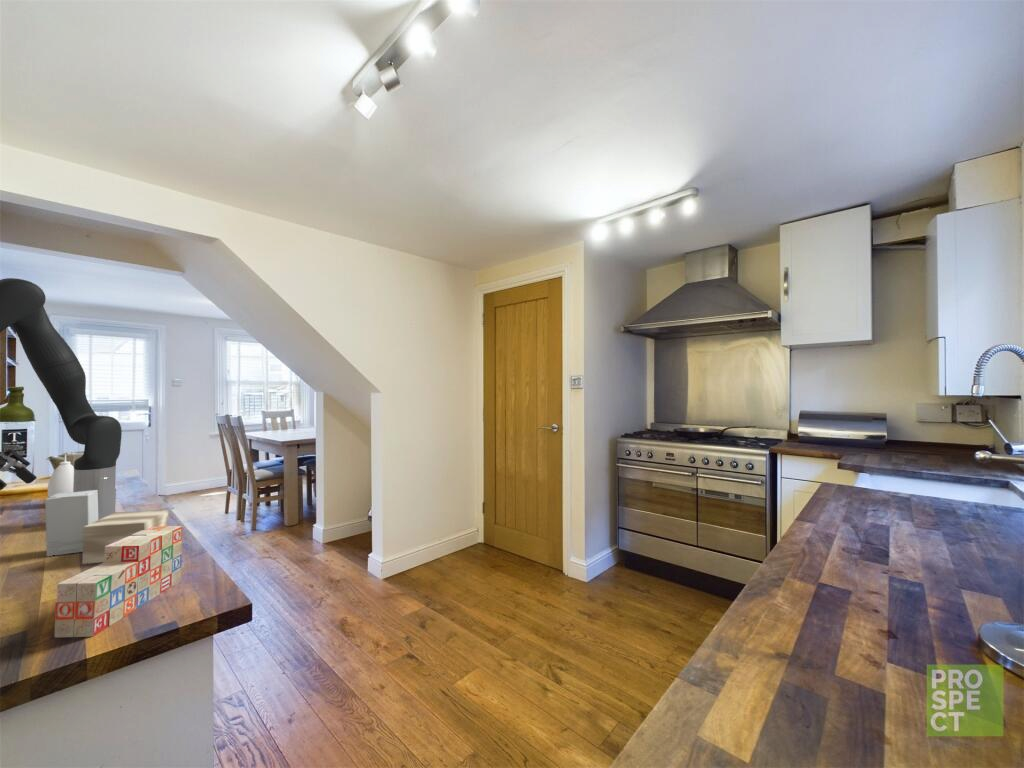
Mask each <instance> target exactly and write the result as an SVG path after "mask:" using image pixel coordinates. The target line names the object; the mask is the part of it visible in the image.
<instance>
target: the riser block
mask: <svg viewBox="0 0 1024 768" xmlns="http://www.w3.org/2000/svg"><path fill="white" fill-rule="evenodd" d="M169 510H170V509H155V510H137V511H136V510H135V511H120V512H117V511H115V513H113V514H111V515H108V516H106V517H104V518H102V519H100V520H97V521H95V522H93V523H91V524H89V525H87V526H84V531H83V552H82V559H81V560H82V561H81V563H82V565H87V563H88V564H97V563H98V564H101V563H104V555H105V546H107V545H110V544H112V543H114V542H117V541H119V540H121V539H123V538H126V537H128V536H131V535H132V534H134V533H137V532H139V531H142V530H146V529H149V528H151V527H157V526H169V514H170V513H169V512H170V511H169Z"/></svg>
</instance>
